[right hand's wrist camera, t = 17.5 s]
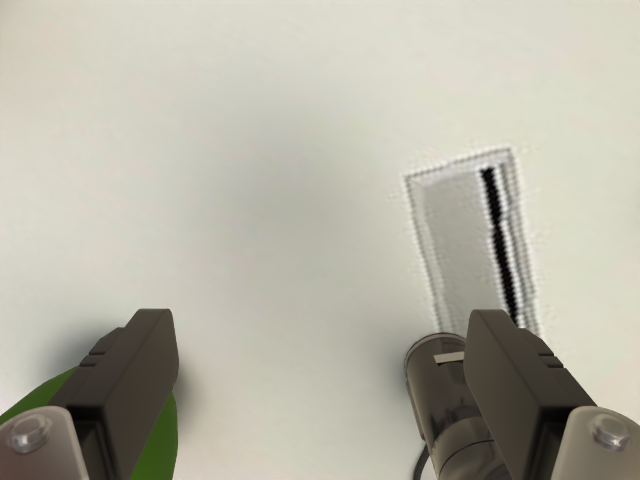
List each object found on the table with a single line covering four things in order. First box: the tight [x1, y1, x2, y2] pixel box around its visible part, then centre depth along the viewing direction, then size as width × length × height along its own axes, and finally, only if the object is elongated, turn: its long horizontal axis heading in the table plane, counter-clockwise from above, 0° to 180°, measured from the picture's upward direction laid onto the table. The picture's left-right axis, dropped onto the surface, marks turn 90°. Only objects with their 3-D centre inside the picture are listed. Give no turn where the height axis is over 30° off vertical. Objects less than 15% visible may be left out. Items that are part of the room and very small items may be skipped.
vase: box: [0, 365, 178, 480], centre depth 46 cm, size 20×20×24 cm
